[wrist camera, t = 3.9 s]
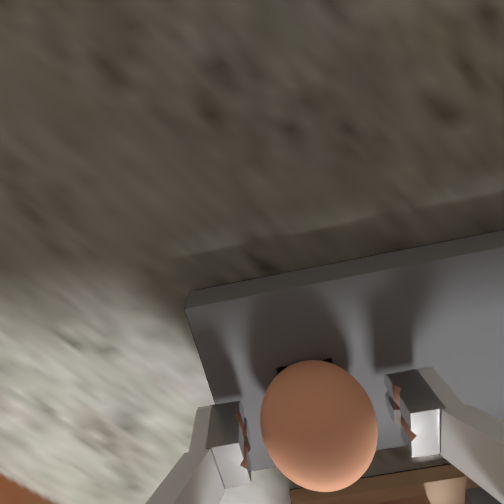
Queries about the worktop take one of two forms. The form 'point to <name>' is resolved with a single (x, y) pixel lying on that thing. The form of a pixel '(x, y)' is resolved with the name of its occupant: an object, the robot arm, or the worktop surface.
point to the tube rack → (404, 489)
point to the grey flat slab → (361, 327)
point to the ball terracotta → (319, 426)
